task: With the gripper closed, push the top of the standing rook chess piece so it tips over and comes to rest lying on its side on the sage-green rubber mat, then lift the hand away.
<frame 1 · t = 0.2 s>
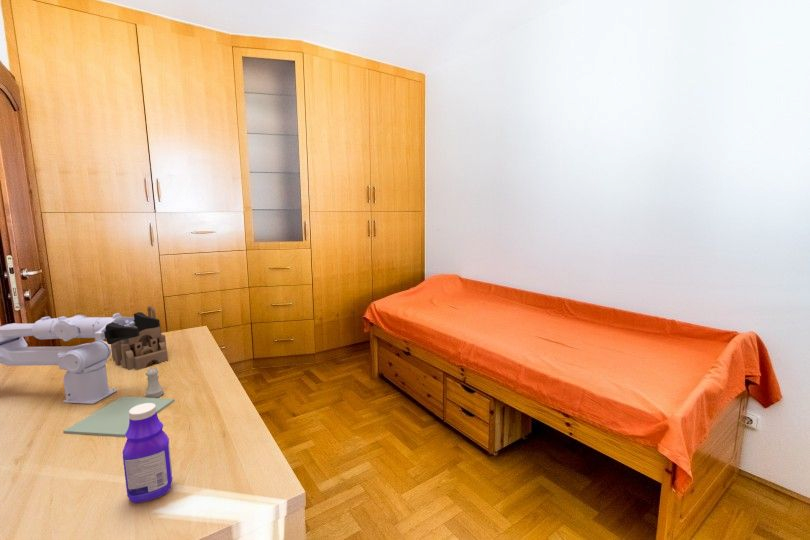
hand: (148, 327, 103), 21 cm above the table, tool horizontal, fingers open, 7 cm apart
bottle: (151, 493, 71), on the table
rook chess piece: (155, 396, 109), on the table
wooden puzzle: (140, 359, 137), on the table
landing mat: (123, 415, 98), on the table
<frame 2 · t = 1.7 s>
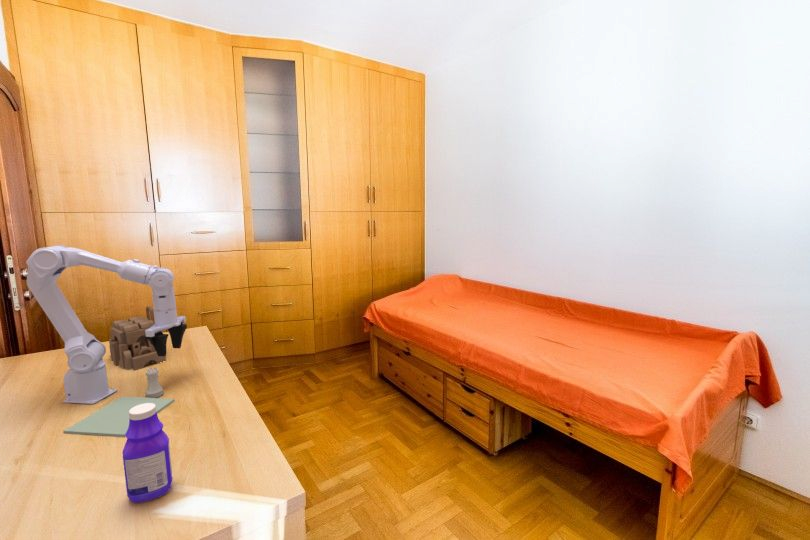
hand: (169, 351, 115), 10 cm above the table, tool pointing down, fingers open, 6 cm apart
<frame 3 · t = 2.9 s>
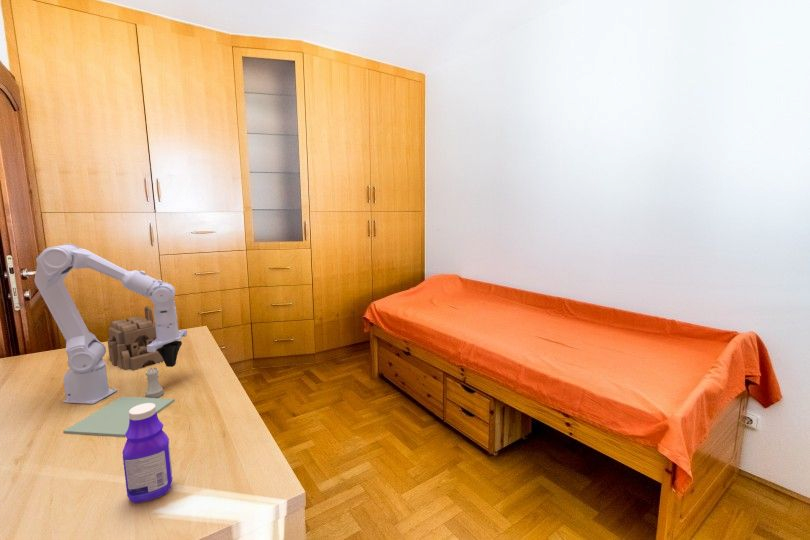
hand: (170, 365, 115), 6 cm above the table, tool pointing down, fingers closed
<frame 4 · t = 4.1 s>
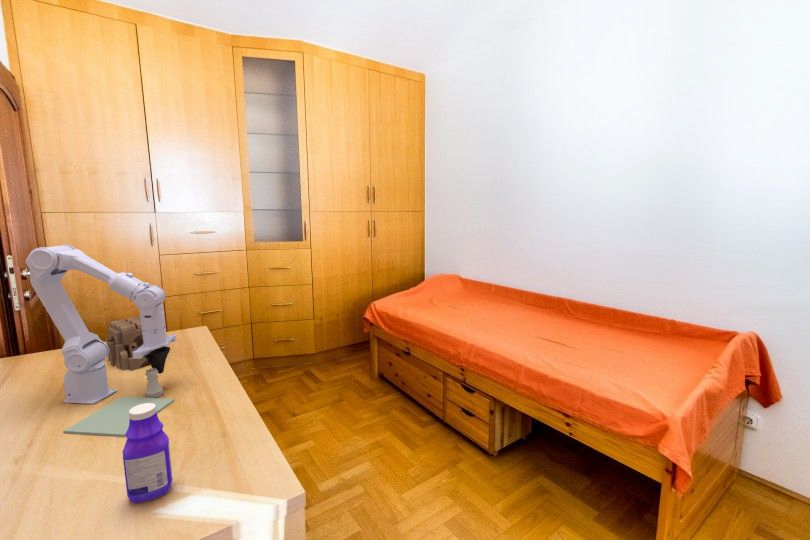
hand: (158, 372, 110), 6 cm above the table, tool pointing down, fingers closed
rook chess piece: (155, 395, 109), on the table, touching gripper
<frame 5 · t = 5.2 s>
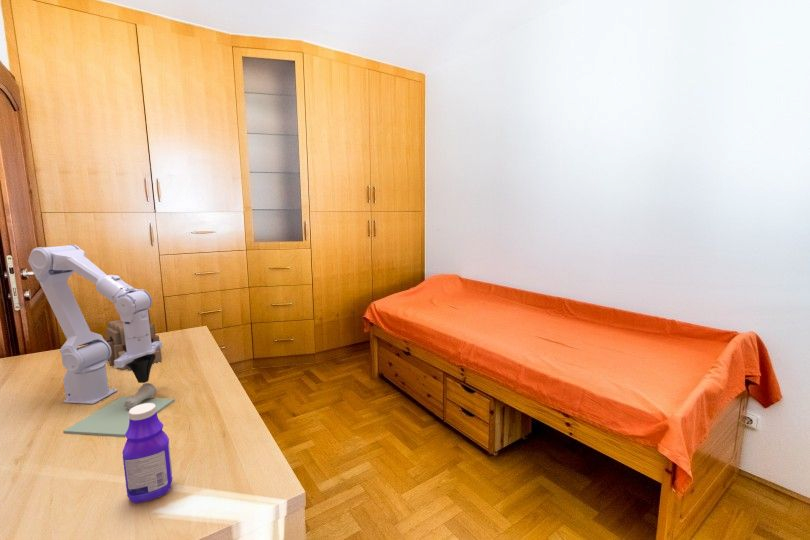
hand: (143, 381, 105), 6 cm above the table, tool pointing down, fingers closed
rook chess piece: (150, 388, 107), point 3 cm above the table, touching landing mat
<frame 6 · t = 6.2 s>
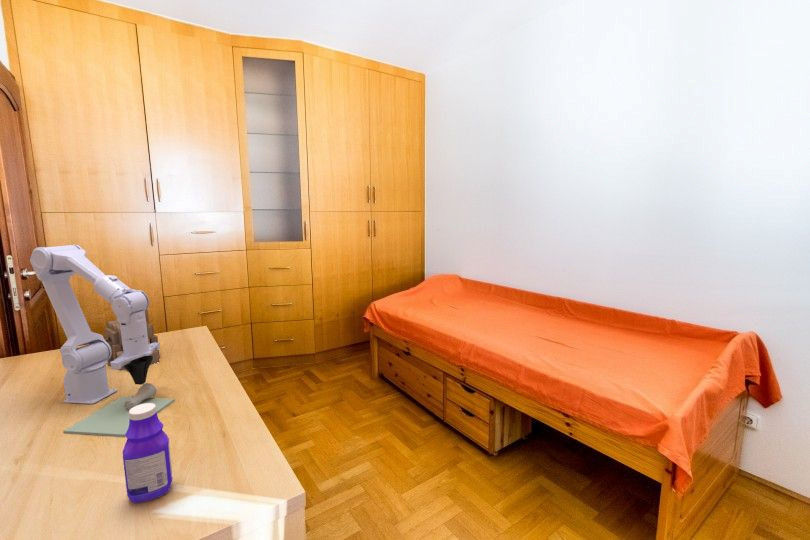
hand: (140, 383, 104), 6 cm above the table, tool pointing down, fingers closed
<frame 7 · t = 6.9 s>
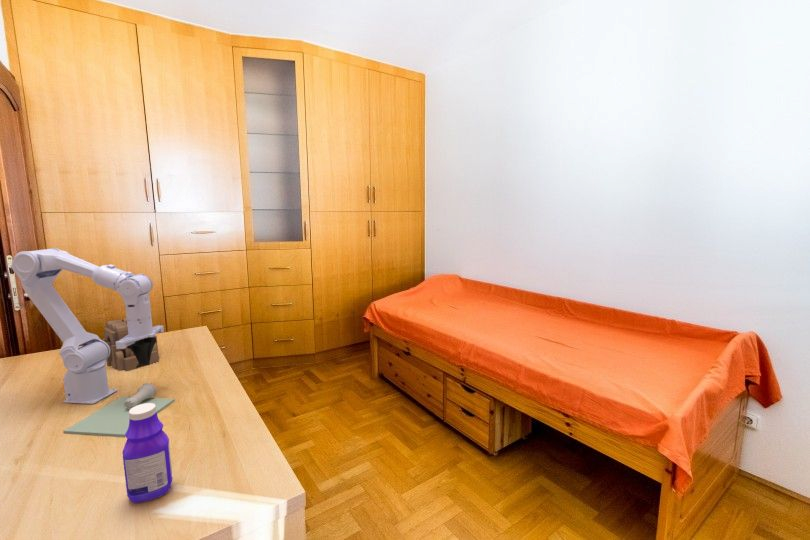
hand: (144, 364, 107), 10 cm above the table, tool pointing down, fingers closed
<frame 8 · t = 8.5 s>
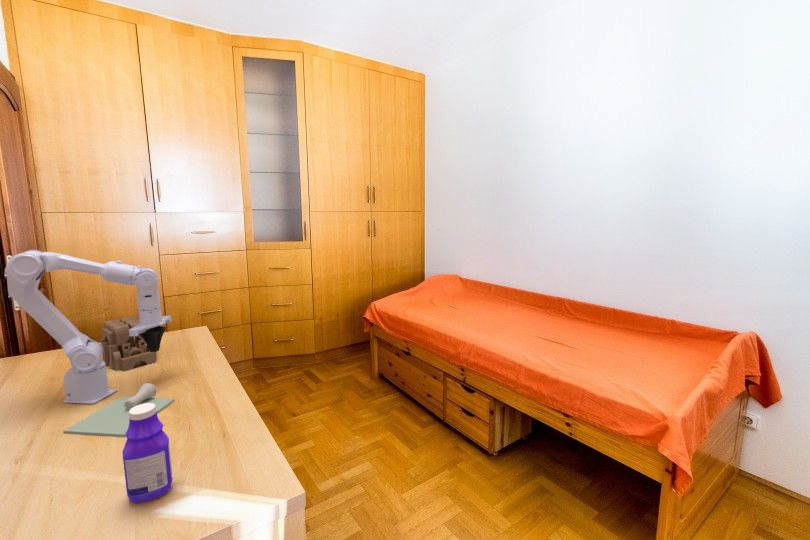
hand: (154, 351, 115), 10 cm above the table, tool pointing down, fingers closed
at the end: rook chess piece tilted 95°; rook chess piece touching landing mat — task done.
